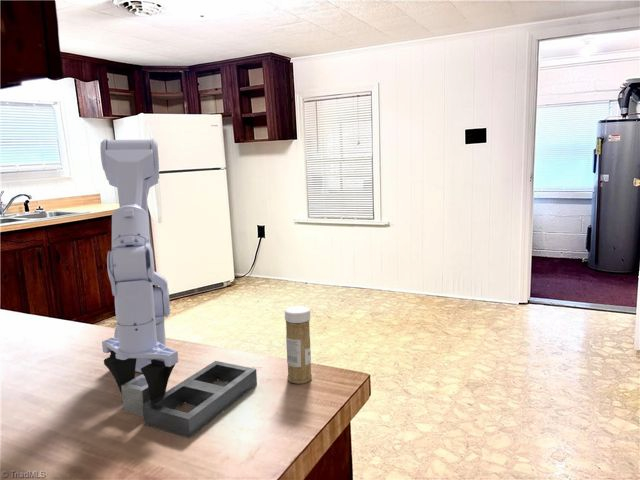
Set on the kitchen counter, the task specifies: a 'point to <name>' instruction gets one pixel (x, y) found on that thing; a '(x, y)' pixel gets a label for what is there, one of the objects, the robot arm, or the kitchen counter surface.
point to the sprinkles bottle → (298, 344)
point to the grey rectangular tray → (199, 398)
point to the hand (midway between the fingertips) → (143, 398)
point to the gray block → (135, 395)
